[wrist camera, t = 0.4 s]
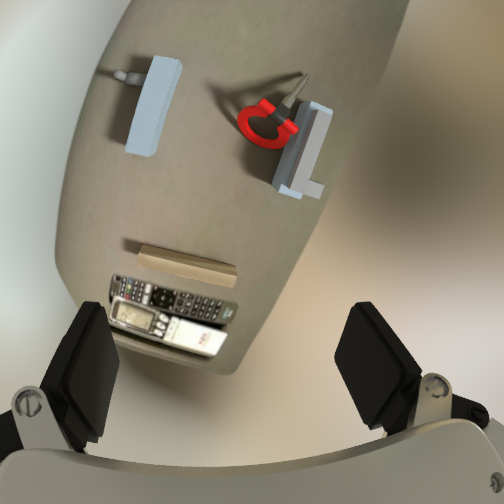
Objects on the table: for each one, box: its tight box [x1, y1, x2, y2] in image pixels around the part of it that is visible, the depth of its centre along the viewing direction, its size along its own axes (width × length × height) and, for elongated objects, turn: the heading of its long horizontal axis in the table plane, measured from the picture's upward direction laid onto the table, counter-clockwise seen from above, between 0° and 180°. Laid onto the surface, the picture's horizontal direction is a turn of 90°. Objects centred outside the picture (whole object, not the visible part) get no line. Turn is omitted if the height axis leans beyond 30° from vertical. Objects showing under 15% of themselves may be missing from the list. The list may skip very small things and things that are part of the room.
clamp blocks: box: [114, 56, 333, 199], centre depth 29 cm, size 12×28×6 cm, turn 72°
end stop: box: [137, 244, 237, 288], centre depth 39 cm, size 2×14×3 cm, turn 71°
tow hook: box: [237, 74, 310, 149], centre depth 31 cm, size 7×10×7 cm
